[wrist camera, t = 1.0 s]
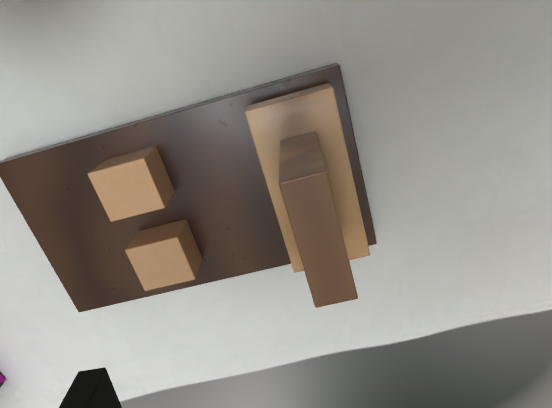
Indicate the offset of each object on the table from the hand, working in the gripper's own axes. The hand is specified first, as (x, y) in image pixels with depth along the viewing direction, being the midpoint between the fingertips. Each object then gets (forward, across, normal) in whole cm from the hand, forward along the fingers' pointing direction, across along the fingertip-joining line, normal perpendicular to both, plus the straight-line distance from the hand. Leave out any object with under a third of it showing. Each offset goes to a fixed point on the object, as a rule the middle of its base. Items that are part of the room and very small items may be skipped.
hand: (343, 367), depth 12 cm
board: (+24, -8, -3) cm, 26 cm away
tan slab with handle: (+22, +1, -1) cm, 22 cm away
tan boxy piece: (+23, -12, 0) cm, 26 cm away
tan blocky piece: (+23, -11, -6) cm, 26 cm away
